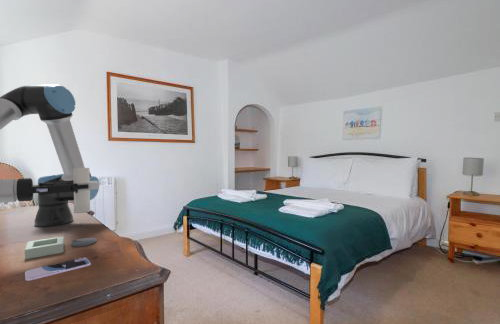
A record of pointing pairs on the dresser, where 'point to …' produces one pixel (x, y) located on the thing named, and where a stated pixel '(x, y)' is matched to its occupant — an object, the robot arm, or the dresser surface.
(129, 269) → the dresser surface
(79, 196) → the grey tall block
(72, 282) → the dresser surface
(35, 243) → the holder
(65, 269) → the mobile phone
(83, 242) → the coaster
